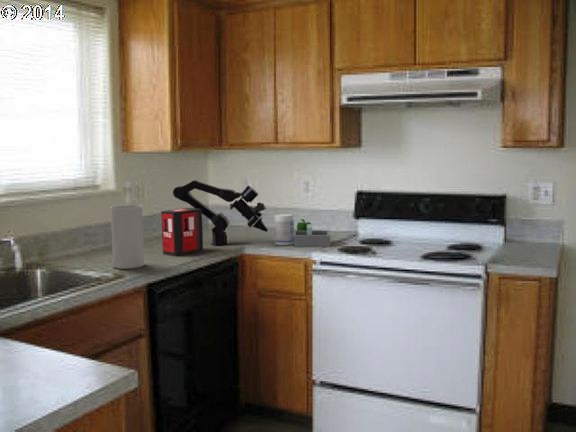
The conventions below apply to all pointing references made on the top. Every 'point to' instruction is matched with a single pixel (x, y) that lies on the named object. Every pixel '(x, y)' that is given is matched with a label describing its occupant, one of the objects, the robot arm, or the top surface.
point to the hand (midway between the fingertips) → (267, 231)
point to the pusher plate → (309, 229)
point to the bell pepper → (302, 225)
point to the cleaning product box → (182, 231)
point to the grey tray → (312, 239)
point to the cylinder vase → (127, 236)
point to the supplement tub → (284, 229)
